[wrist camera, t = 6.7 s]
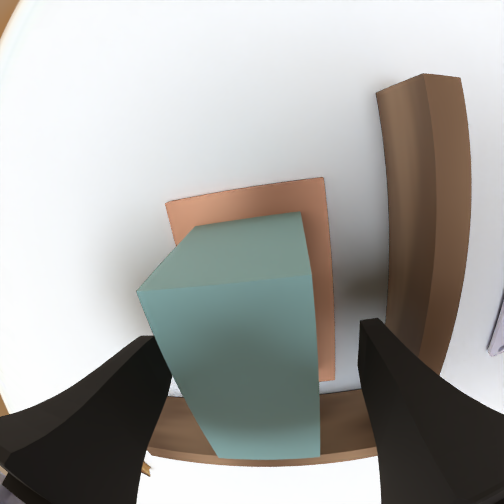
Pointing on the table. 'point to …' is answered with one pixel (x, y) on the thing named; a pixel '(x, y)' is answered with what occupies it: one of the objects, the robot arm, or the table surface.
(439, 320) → the corner arena
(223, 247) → the teal block
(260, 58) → the table surface
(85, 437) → the robot arm
